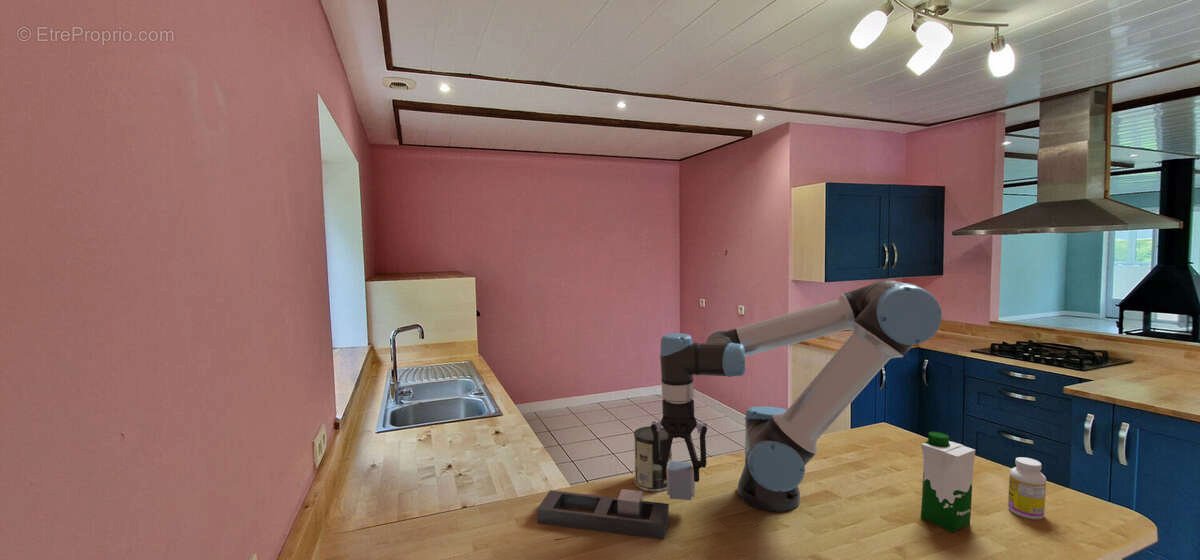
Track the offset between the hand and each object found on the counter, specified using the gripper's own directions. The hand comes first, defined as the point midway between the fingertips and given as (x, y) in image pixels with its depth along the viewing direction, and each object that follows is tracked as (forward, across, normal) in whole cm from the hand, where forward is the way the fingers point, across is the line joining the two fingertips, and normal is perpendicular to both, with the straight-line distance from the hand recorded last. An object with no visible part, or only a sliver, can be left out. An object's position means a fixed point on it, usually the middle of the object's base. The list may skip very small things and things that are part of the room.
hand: (681, 492), depth 120 cm
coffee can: (+5, +9, -14) cm, 17 cm away
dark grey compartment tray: (+5, +18, +7) cm, 20 cm away
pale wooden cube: (+5, +11, +7) cm, 14 cm away
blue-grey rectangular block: (0, 0, 0) cm, 0 cm away
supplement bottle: (+8, -80, -18) cm, 82 cm away
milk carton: (+7, -60, -10) cm, 61 cm away
